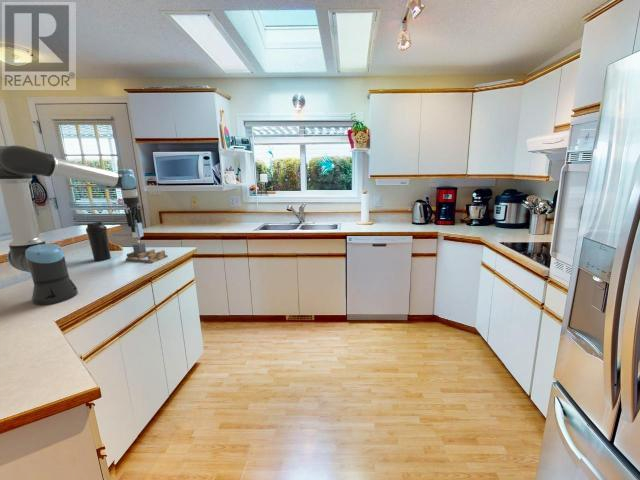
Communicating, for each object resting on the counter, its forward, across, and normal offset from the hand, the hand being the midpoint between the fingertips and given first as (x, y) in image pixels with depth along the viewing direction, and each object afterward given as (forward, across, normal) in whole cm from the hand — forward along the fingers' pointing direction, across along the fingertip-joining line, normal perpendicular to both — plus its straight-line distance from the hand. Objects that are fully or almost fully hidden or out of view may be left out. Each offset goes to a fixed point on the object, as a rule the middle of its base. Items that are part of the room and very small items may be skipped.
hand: (137, 236), depth 177 cm
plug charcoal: (+14, +4, +3) cm, 15 cm away
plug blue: (0, 0, 0) cm, 0 cm away
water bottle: (+15, +6, +26) cm, 31 cm away
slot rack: (+15, +3, -1) cm, 16 cm away
